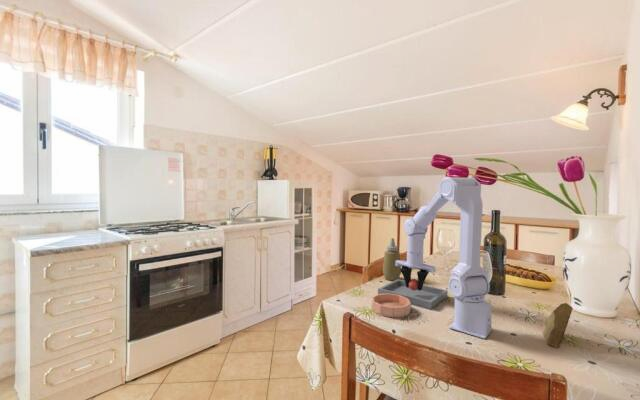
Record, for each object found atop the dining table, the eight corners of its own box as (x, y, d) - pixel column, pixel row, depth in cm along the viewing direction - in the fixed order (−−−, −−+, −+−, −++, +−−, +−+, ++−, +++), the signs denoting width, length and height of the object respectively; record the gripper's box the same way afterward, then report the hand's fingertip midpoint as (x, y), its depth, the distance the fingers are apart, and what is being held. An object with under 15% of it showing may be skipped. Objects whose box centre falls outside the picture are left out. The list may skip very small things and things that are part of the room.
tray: (447, 297, 113) (447, 290, 113) (430, 309, 101) (431, 302, 101) (397, 285, 127) (397, 279, 126) (377, 295, 115) (378, 288, 114)
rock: (569, 346, 74) (592, 333, 78) (545, 311, 79) (568, 301, 82) (533, 353, 83) (556, 341, 87) (514, 321, 87) (536, 311, 91)
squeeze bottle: (403, 281, 131) (404, 240, 130) (384, 281, 131) (385, 240, 130) (398, 276, 139) (399, 237, 138) (380, 276, 139) (381, 236, 138)
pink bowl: (416, 308, 102) (416, 299, 102) (398, 321, 92) (398, 310, 92) (383, 299, 110) (383, 290, 110) (364, 310, 100) (364, 300, 100)
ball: (421, 290, 113) (421, 279, 112) (416, 292, 110) (417, 281, 109) (411, 287, 115) (411, 277, 115) (406, 290, 112) (406, 279, 112)
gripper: (439, 253, 110) (438, 290, 111) (401, 247, 120) (400, 281, 120) (431, 256, 105) (430, 295, 105) (393, 250, 114) (392, 285, 115)
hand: (414, 288), depth 112 cm, fingers closed on ball, 4 cm apart
